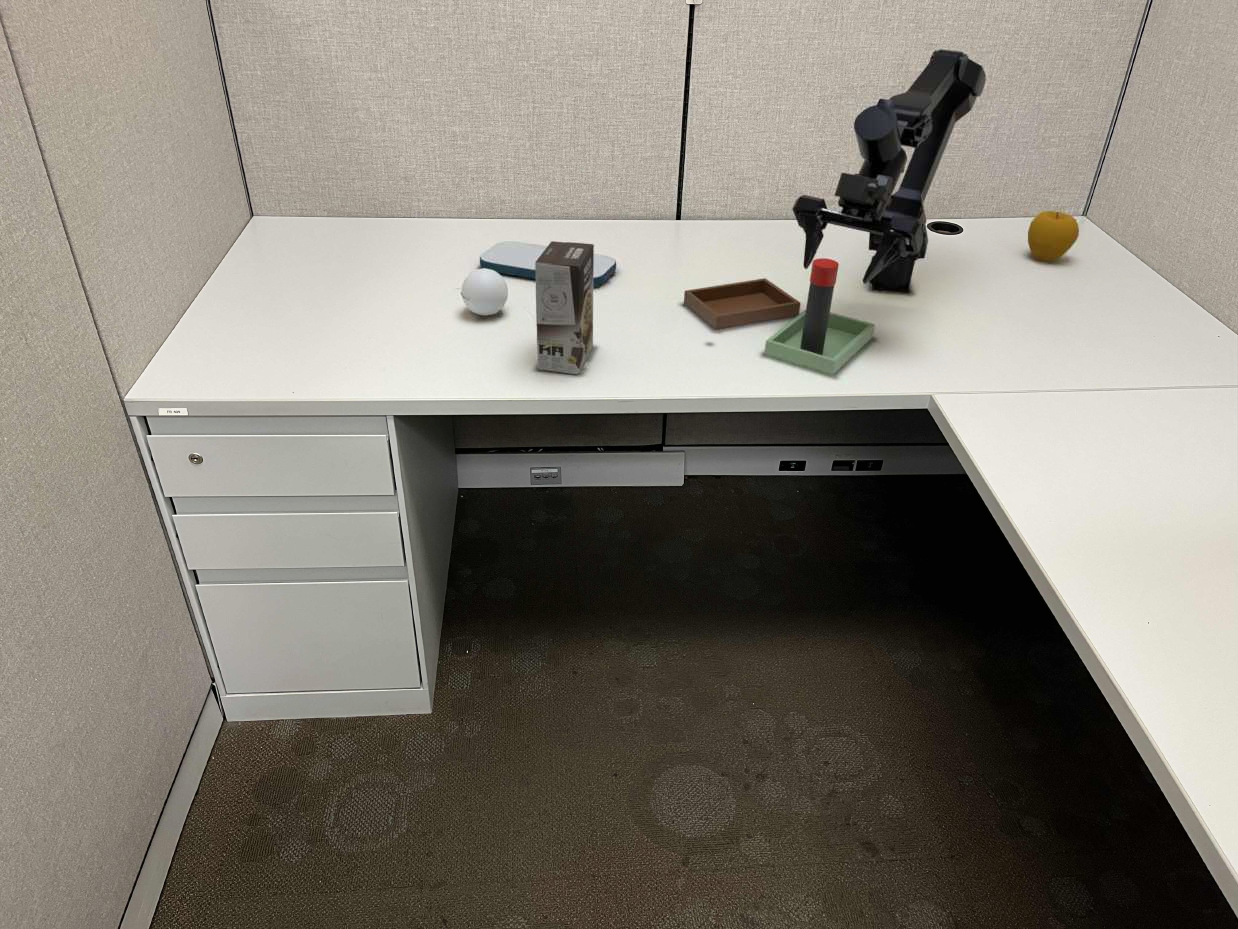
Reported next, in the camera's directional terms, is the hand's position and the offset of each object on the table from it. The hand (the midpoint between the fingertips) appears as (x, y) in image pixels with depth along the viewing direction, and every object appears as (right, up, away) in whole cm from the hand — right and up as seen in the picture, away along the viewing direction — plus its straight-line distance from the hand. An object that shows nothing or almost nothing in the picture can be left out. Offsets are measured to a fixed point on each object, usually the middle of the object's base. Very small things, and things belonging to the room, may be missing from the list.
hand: (834, 274), depth 128 cm
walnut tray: (-11, -2, +16) cm, 20 cm away
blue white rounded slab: (-44, +7, +29) cm, 53 cm away
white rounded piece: (-54, -3, +13) cm, 56 cm away
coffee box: (-39, -12, +1) cm, 41 cm away
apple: (+50, +11, +39) cm, 64 cm away
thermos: (-3, -11, +3) cm, 12 cm away
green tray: (-1, -10, +5) cm, 11 cm away
